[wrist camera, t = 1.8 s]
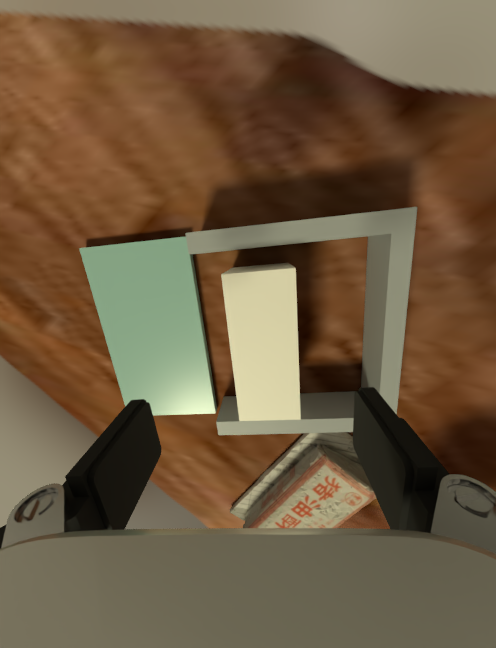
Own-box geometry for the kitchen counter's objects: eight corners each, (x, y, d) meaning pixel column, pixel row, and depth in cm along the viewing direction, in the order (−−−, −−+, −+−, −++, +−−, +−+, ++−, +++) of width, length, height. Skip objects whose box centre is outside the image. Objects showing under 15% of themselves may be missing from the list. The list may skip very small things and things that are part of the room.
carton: (288, 262, 22) (295, 267, 16) (293, 380, 25) (300, 419, 19) (233, 267, 22) (221, 274, 16) (245, 382, 26) (239, 421, 20)
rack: (388, 214, 20) (417, 206, 16) (375, 402, 25) (394, 431, 21) (200, 235, 21) (185, 232, 17) (225, 408, 27) (218, 435, 23)
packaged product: (294, 585, 28) (224, 546, 27) (291, 537, 33) (230, 502, 32) (413, 499, 23) (331, 446, 22) (388, 457, 27) (320, 411, 26)
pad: (189, 236, 21) (186, 236, 21) (217, 408, 27) (215, 413, 26) (85, 248, 22) (79, 248, 22) (132, 411, 28) (128, 416, 27)
